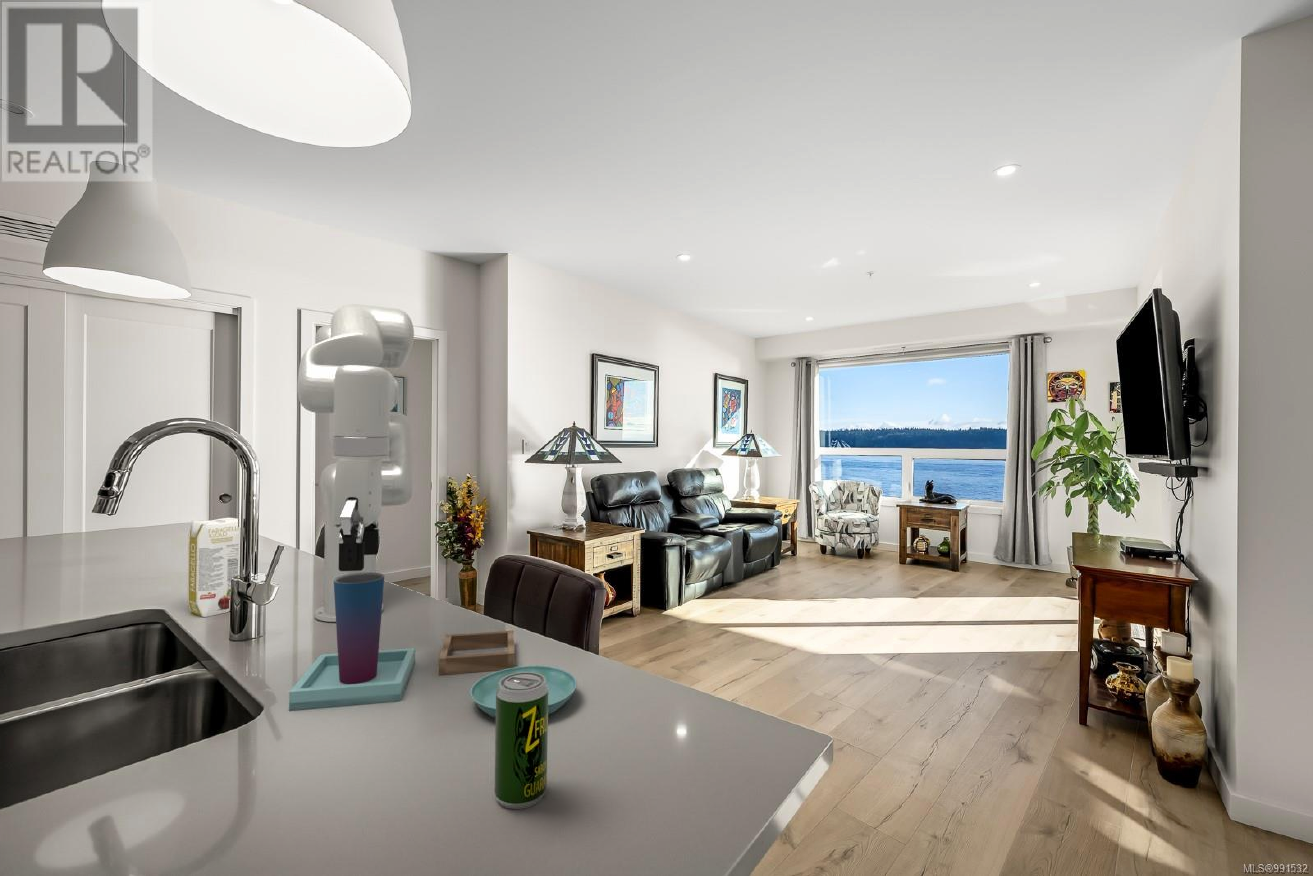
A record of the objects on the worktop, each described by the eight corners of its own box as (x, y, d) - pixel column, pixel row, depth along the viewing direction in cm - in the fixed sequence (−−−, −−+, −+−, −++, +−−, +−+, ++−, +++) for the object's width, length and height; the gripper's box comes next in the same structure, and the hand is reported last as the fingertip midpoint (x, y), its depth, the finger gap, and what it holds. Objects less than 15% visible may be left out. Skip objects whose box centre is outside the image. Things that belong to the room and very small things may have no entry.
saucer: (521, 674, 94) (522, 658, 94) (597, 697, 86) (597, 679, 86) (446, 711, 81) (446, 692, 81) (527, 741, 74) (527, 719, 74)
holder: (445, 649, 104) (446, 634, 104) (513, 644, 107) (513, 630, 107) (438, 675, 93) (438, 659, 93) (514, 669, 95) (514, 653, 95)
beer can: (483, 803, 61) (485, 687, 61) (514, 775, 66) (516, 668, 66) (528, 816, 59) (529, 696, 59) (556, 787, 64) (558, 676, 64)
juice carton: (248, 609, 125) (249, 519, 125) (200, 619, 117) (201, 524, 117) (230, 603, 129) (231, 516, 129) (183, 613, 121) (184, 520, 121)
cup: (369, 687, 85) (370, 583, 85) (322, 686, 86) (323, 582, 85) (391, 669, 92) (392, 572, 92) (348, 668, 92) (349, 571, 92)
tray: (320, 670, 94) (320, 654, 94) (415, 663, 97) (415, 648, 97) (289, 710, 80) (289, 692, 80) (400, 700, 84) (400, 683, 84)
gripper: (348, 445, 96) (347, 549, 97) (315, 451, 79) (313, 578, 80) (398, 446, 98) (396, 548, 98) (376, 452, 81) (374, 576, 82)
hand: (359, 562), depth 89 cm, fingers open, 9 cm apart
